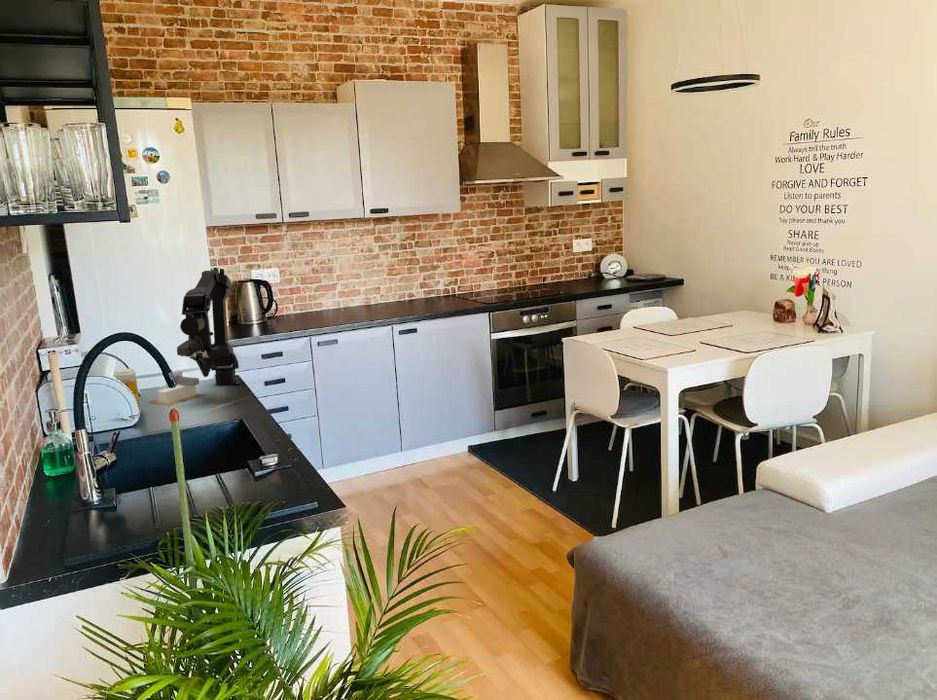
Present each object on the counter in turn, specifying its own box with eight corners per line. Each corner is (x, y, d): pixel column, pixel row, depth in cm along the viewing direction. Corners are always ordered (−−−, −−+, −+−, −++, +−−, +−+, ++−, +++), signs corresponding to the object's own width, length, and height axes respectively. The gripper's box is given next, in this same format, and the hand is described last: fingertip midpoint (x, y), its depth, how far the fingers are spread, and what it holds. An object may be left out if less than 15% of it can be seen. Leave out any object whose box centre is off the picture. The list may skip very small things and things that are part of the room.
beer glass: (119, 421, 227) (112, 373, 224) (120, 416, 232) (114, 369, 230) (140, 418, 229) (134, 371, 226) (141, 413, 235) (135, 367, 232)
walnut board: (182, 394, 257) (182, 391, 257) (206, 397, 251) (206, 394, 251) (145, 405, 244) (144, 402, 244) (169, 409, 239) (169, 406, 238)
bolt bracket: (181, 392, 256) (178, 371, 255) (184, 392, 256) (182, 371, 254) (167, 396, 251) (164, 375, 250) (170, 396, 251) (168, 375, 249)
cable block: (188, 394, 253) (187, 382, 253) (196, 395, 251) (195, 383, 251) (158, 402, 243) (157, 391, 242) (167, 404, 241) (165, 392, 240)
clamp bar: (177, 381, 254) (176, 375, 253) (199, 384, 248) (198, 378, 248) (171, 383, 252) (170, 377, 251) (193, 385, 246) (192, 379, 246)
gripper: (160, 333, 239) (166, 380, 242) (200, 335, 230) (206, 384, 233) (188, 327, 249) (193, 372, 252) (228, 329, 239) (233, 376, 243)
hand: (205, 376), depth 244 cm, fingers closed
